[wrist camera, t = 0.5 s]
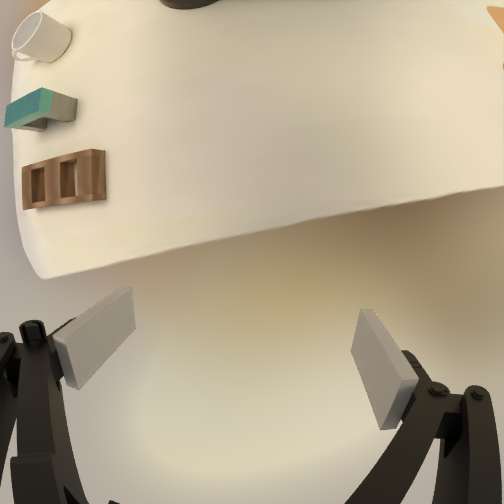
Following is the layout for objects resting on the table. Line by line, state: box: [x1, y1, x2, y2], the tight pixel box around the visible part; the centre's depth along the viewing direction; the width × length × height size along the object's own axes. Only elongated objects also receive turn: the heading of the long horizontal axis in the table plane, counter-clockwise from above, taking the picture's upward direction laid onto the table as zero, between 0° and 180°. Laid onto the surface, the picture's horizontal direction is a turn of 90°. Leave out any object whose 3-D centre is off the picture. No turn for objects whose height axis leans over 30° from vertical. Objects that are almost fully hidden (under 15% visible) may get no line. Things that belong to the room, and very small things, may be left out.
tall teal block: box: [4, 88, 77, 132], centre depth 35 cm, size 10×4×10 cm, turn 91°
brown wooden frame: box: [22, 149, 106, 210], centre depth 40 cm, size 18×8×4 cm, turn 91°
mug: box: [12, 11, 71, 63], centre depth 32 cm, size 9×12×11 cm
